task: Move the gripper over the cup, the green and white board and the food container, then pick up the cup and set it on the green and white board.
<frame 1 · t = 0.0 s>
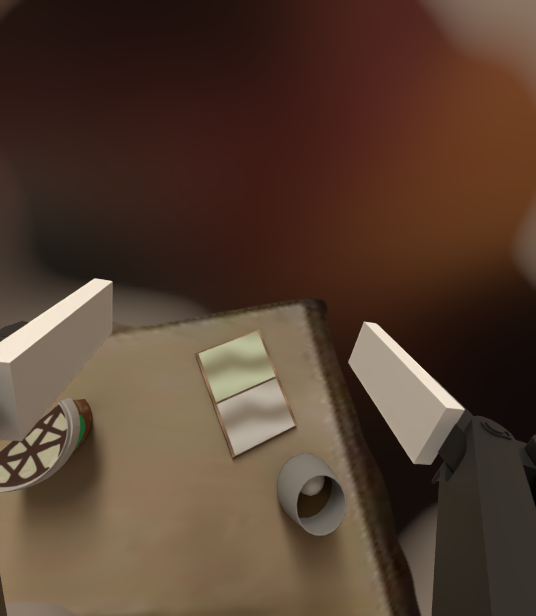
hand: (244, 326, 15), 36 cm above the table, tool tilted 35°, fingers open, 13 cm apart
food container: (70, 437, 42), on the table
green and white board: (246, 389, 49), on the table
cup: (297, 476, 48), on the table
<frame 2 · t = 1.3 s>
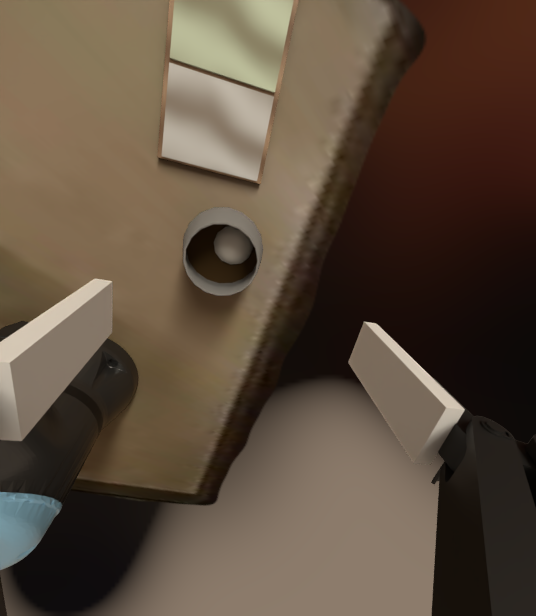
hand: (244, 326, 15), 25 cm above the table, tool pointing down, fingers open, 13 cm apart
green and white board: (224, 81, 30), on the table
cup: (224, 242, 37), on the table
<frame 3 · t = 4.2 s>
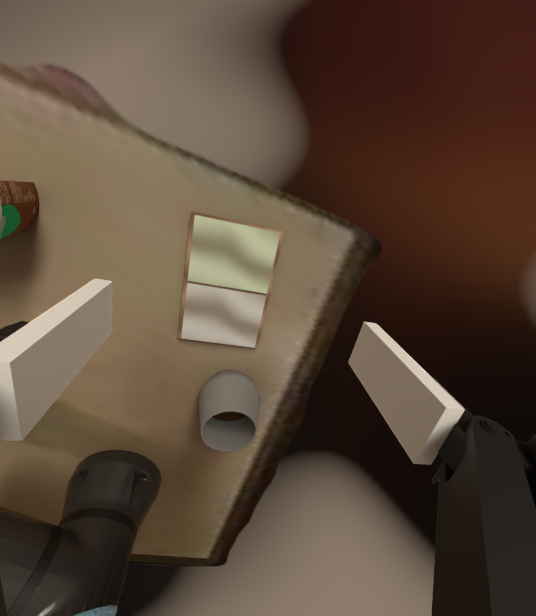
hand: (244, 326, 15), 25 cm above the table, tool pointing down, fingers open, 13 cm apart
food container: (8, 217, 33), on the table
green and white board: (228, 286, 40), on the table
cup: (229, 383, 47), on the table
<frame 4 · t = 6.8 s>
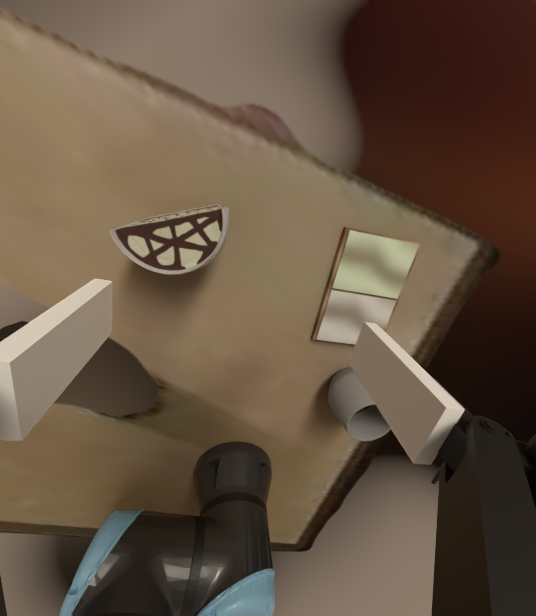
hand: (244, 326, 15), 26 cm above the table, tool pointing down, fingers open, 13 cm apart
food container: (189, 234, 38), on the table
green and white board: (362, 292, 44), on the table
cup: (346, 380, 51), on the table
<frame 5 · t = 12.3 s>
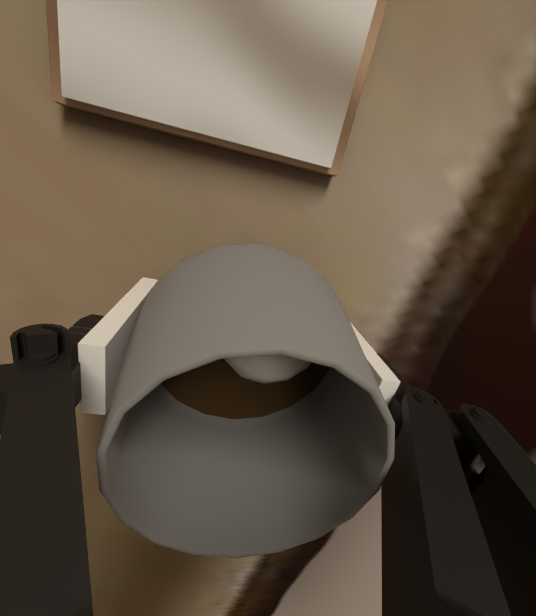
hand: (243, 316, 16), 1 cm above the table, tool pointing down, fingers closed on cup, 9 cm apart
cup: (242, 311, 16), on the table, touching gripper
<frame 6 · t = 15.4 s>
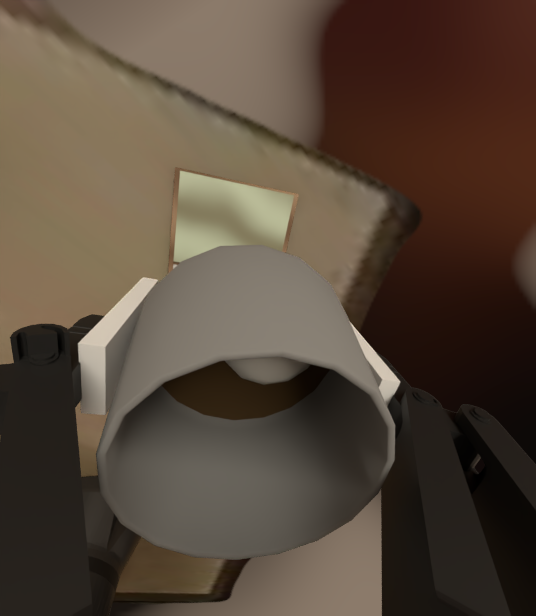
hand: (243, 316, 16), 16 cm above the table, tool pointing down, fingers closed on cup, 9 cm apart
green and white board: (226, 268, 31), on the table
cup: (242, 311, 16), point 15 cm above the table, touching gripper
when the fingers open (3 cm above the table, at t = 18.6 s): cup drops 1 cm, resting on green and white board.
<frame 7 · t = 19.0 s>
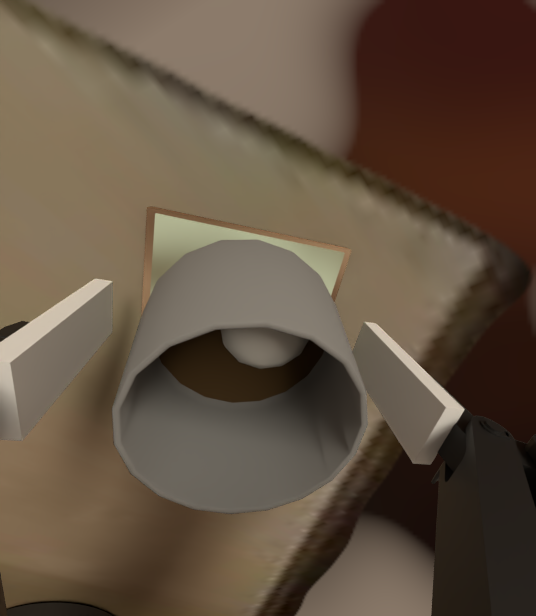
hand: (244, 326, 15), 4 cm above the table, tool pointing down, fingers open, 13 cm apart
green and white board: (230, 354, 20), on the table
cup: (242, 303, 18), point 1 cm above the table, touching green and white board
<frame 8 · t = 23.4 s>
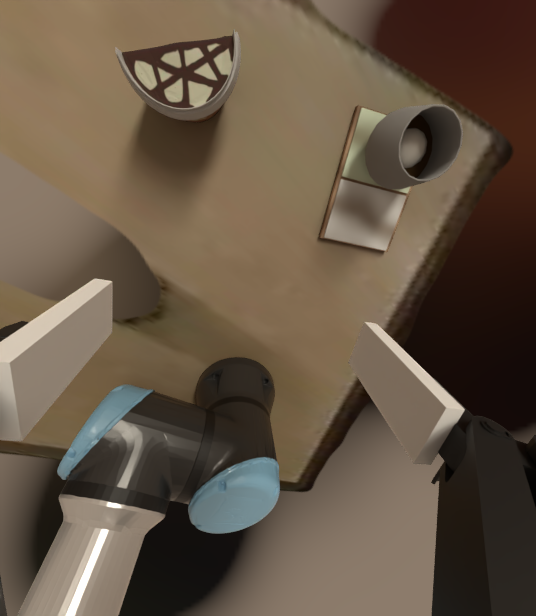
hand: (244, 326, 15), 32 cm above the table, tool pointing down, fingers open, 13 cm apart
food container: (196, 105, 37), on the table
green and white board: (371, 186, 43), on the table
cup: (385, 154, 40), point 1 cm above the table, touching green and white board
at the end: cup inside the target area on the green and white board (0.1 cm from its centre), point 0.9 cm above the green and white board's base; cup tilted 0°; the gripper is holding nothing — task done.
